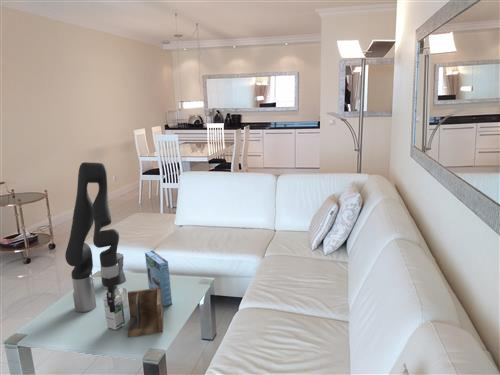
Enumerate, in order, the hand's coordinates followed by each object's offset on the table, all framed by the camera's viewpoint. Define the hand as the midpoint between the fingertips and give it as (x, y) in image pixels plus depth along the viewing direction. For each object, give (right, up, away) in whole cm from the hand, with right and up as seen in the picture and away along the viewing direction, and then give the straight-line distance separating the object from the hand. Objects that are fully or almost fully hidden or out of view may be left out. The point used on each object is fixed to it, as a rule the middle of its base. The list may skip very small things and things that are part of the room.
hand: (113, 307), depth 178 cm
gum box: (+15, -4, +27) cm, 31 cm away
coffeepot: (-14, 0, +47) cm, 49 cm away
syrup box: (0, -9, +2) cm, 9 cm away
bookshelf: (+14, -9, +3) cm, 17 cm away
